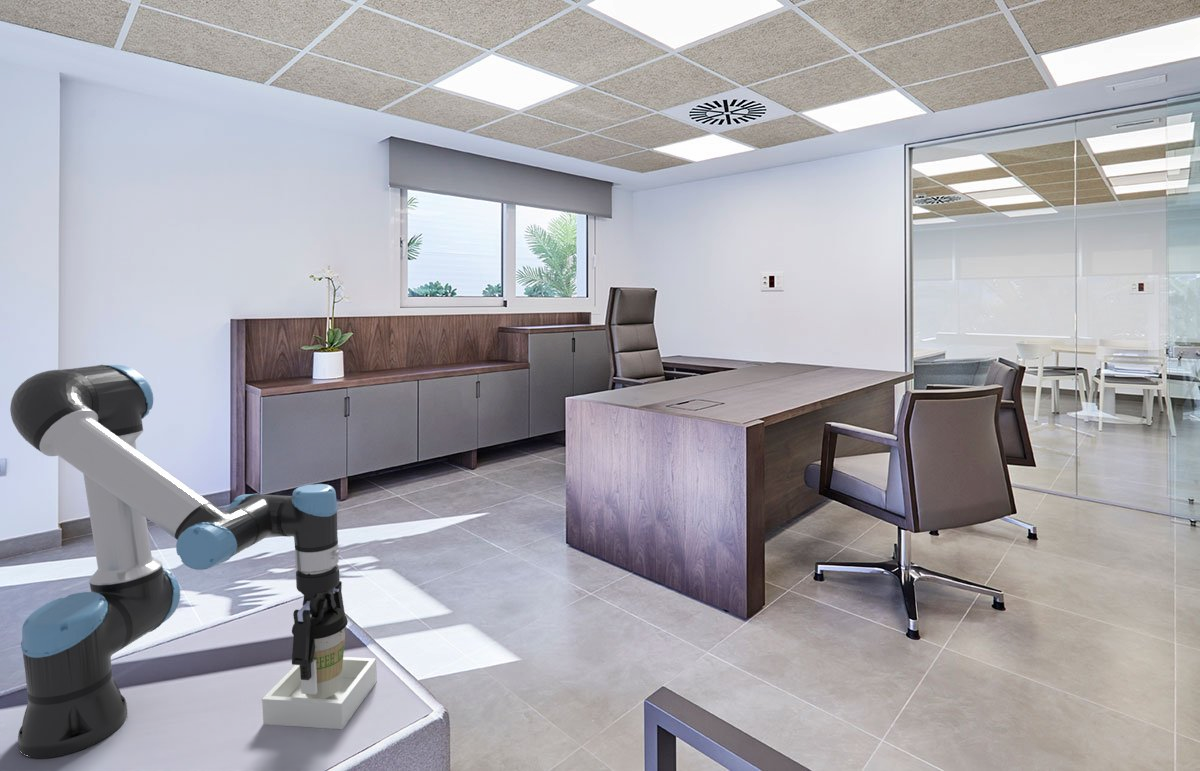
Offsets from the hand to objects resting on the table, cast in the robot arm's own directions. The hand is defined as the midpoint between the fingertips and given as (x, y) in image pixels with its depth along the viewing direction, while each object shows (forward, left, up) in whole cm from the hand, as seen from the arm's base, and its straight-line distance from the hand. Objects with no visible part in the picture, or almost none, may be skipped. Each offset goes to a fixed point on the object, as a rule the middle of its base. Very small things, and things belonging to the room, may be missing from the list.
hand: (322, 678), depth 123 cm
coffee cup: (0, 0, -3) cm, 3 cm away
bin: (0, 0, -5) cm, 5 cm away
